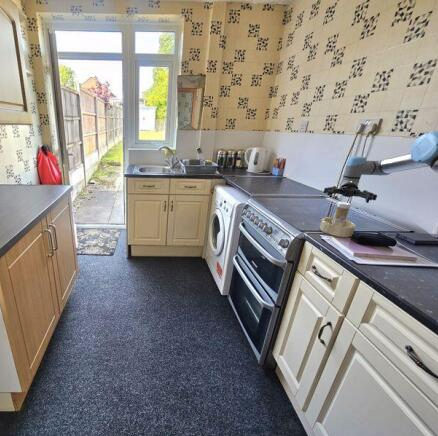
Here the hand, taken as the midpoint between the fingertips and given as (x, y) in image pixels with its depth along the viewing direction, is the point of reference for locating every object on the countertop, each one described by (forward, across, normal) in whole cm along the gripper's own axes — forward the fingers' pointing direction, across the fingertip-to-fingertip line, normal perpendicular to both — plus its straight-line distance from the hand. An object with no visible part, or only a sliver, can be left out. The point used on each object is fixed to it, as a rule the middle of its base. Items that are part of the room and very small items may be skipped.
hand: (349, 197), depth 113 cm
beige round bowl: (+9, +1, -15) cm, 17 cm away
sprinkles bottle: (+9, +1, -15) cm, 17 cm away
